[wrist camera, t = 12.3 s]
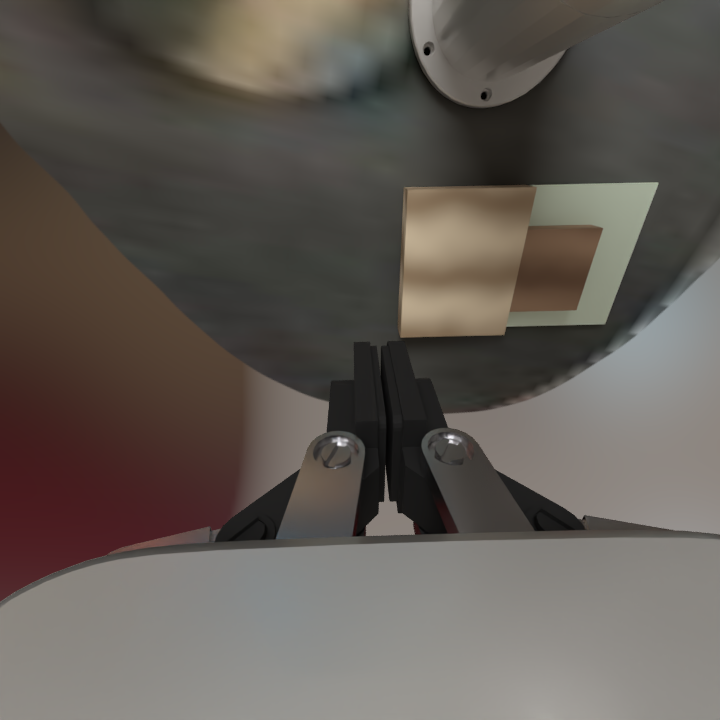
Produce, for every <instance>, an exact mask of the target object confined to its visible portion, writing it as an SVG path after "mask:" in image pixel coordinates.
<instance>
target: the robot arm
mask: <svg viewBox="0 0 720 720" xmlns="http://www.w3.org/2000/svg"><path fill="white" fill-rule="evenodd" d="M663 1H664V0H409V9H408V16H409V26H410V36H411V40H412V43H413V47H414V51H415V55H416V57H417V60H418V62H419V64H420V66H421V69H422V71H423V73H424V74H425V76H426V77H427V78H428V80H429V81H430V83H431V84H432V86H433V87H434V88H435V89H437V90H438V91H439V92H440V93H441V94H442V95H443V96H444V97H446V98H447V99H449V100H451V101H453V102H454V103H456V104H459V105H462V106H466V107H469V108H489V107H494V106H500V105H502V104H505V103H508V102H511V101H513V100H515V99H516V98H518V97H520V96H522V95H524V94H526V93H527V92H528V91H530V90H531V89H532V88H533V87H535V86H536V85H537V84H538V83H540V82H541V81H542V80H543V79H544V78H545V77H546V75H547V74H548V73H549V72H550V71H551V70H552V69H553V68H554V67H555V65H556V64H557V63H558V61H559V60H560V58H561V57H562V56H563V54H564V53H565V51H566V49H568V48H570V47H572V46H574V45H576V44H578V43H580V42H582V41H584V40H586V39H588V38H590V37H592V36H594V35H596V34H598V33H600V32H602V31H604V30H606V29H608V28H610V27H612V26H614V25H616V24H618V23H620V22H622V21H624V20H626V19H628V18H630V17H633V16H635V15H637V14H639V13H641V12H643V11H645V10H647V9H649V8H651V7H653V6H655V5H657V4H659V3H661V2H663ZM425 48H428V49H429V51H430V54H429V55H428V56H426V55H425V54H424V49H425ZM482 92H484V93H485V96H486V97H485V99H484V100H482V99H481V93H482ZM385 465H386V474H387V482H388V492H389V500H390V501H396V502H397V510H398V513H403V514H404V515H406V516H407V517H408V518H410V519H411V520H412V521H414V522H413V527H414V532H415V535H393V536H392V535H391V536H366V525H367V524H368V523H369V522H370V521H371V520H372V519H373V518H374V517H375V516H376V515H377V514H378V509H379V508H378V507H379V502H384V488H385V487H384V486H385ZM0 720H720V535H719V534H710V533H701V532H690V531H674V530H669V529H662V528H657V527H651V526H645V525H639V524H633V523H627V522H622V521H616V520H609V519H604V518H598V517H592V516H586V515H584V517H583V519H582V520H581V519H577V518H576V517H575V516H574V515H573V514H572V513H570V512H569V511H567V510H566V509H564V508H563V507H561V506H559V505H558V504H556V503H554V502H552V501H550V500H549V499H547V498H545V497H543V496H541V495H540V494H537V493H536V492H534V491H532V490H531V489H529V488H527V487H525V486H524V485H522V484H520V483H518V482H516V481H515V480H513V479H511V478H509V477H507V476H506V475H504V474H502V473H500V472H498V471H497V470H495V469H494V468H493V466H492V465H491V463H490V461H489V460H488V458H487V457H486V455H485V454H484V453H483V451H482V449H481V448H480V446H479V444H478V443H477V442H476V441H475V440H474V439H473V438H472V437H471V436H469V435H468V434H466V433H464V432H462V431H460V430H457V429H451V428H448V427H447V424H446V421H445V418H444V415H443V412H442V409H441V407H440V404H439V401H438V398H437V395H436V393H435V390H434V387H433V384H432V381H431V379H429V378H420V379H415V377H414V373H413V370H412V366H411V363H410V359H409V356H408V352H407V349H406V345H405V342H404V341H388V342H387V346H381V376H380V369H379V361H378V354H377V346H370V342H354V380H343V381H331V389H330V400H329V411H328V424H327V433H324V434H322V435H320V436H318V437H316V438H315V439H314V440H313V441H312V442H311V444H310V445H309V447H308V449H307V452H306V455H305V458H304V460H303V463H302V466H301V469H299V470H298V471H297V472H295V473H294V474H292V475H291V476H290V477H288V478H287V479H285V480H284V481H283V482H282V483H280V484H278V485H277V486H276V487H274V488H273V489H271V490H270V491H269V492H267V493H266V494H265V495H263V496H262V497H260V498H259V499H257V500H256V501H255V502H253V503H252V504H250V505H249V506H248V507H246V508H245V509H244V510H242V511H241V512H239V513H238V514H237V515H235V516H234V517H232V518H231V519H230V520H229V521H228V522H227V523H226V524H225V525H223V527H222V528H221V529H218V530H214V531H212V530H211V528H210V527H206V528H202V529H198V530H194V531H189V532H185V533H181V534H177V535H173V536H169V537H164V538H160V539H156V540H152V541H148V542H143V543H139V544H135V545H131V546H127V547H124V548H120V549H118V550H115V551H113V552H111V553H109V554H108V555H107V556H103V557H100V558H96V559H92V560H88V561H85V562H82V563H80V564H77V565H74V566H72V567H69V568H66V569H63V570H61V571H58V572H56V573H53V574H51V575H49V576H46V577H44V578H42V579H40V580H38V581H35V582H33V583H31V584H30V585H28V586H26V587H24V588H22V589H20V590H18V591H16V592H15V593H13V594H12V595H10V596H9V597H7V598H6V599H4V600H3V601H1V602H0Z"/></svg>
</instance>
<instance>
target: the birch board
mask: <svg viewBox="0 0 720 720" xmlns="http://www.w3.org/2000/svg"><path fill="white" fill-rule="evenodd" d="M536 190H537V187H533V186H527V185H500V186H450V187H404V196H403V218H402V241H401V264H400V287H399V310H398V330H399V334H400V338H402V337H443V336H483V335H504V334H505V330H506V325H507V321H508V316H509V312H510V307H511V303H512V298H513V294H514V289H515V285H516V280H517V276H518V271H519V266H520V262H521V257H522V253H523V248H524V244H525V239H526V235H527V230H528V226H529V221H530V217H531V212H532V208H533V203H534V199H535V194H536Z"/></svg>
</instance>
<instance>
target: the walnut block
mask: <svg viewBox="0 0 720 720" xmlns="http://www.w3.org/2000/svg"><path fill="white" fill-rule="evenodd" d="M602 231H603V228H601V227H598V226H594V225H552V226H528V230H527V235H526V239H525V244H524V248H523V253H522V257H521V262H520V266H519V271H518V276H517V280H516V285H515V289H514V294H513V298H512V303H511V307H510V312H526V311H569V310H577V307H578V304H579V301H580V298H581V295H582V292H583V289H584V286H585V282H586V279H587V276H588V273H589V270H590V267H591V264H592V261H593V258H594V255H595V252H596V249H597V246H598V243H599V240H600V237H601V234H602Z"/></svg>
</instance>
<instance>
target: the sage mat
mask: <svg viewBox="0 0 720 720" xmlns="http://www.w3.org/2000/svg"><path fill="white" fill-rule="evenodd" d="M658 184H659V183H655V182H651V183H601V184H550V185H530V186H533V187H537V190H536V194H535V199H534V203H533V208H532V212H531V217H530V221H529V226H552V225H594V226H598V227H601V228H603V231H602V234H601V237H600V240H599V243H598V246H597V249H596V252H595V255H594V258H593V261H592V264H591V267H590V270H589V273H588V276H587V279H586V282H585V286H584V289H583V292H582V295H581V298H580V301H579V304H578V307H577V310H569V311H526V312H509V316H508V321H507V325H506V327H513V326H554V325H595V324H605V323H606V320H607V318H608V315H609V312H610V310H611V307H612V304H613V302H614V299H615V297H616V294H617V291H618V289H619V286H620V283H621V281H622V278H623V276H624V273H625V270H626V268H627V265H628V262H629V260H630V257H631V255H632V252H633V249H634V247H635V244H636V241H637V239H638V236H639V234H640V231H641V228H642V226H643V223H644V220H645V218H646V215H647V213H648V210H649V207H650V205H651V202H652V199H653V197H654V194H655V191H656V189H657V186H658Z"/></svg>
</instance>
